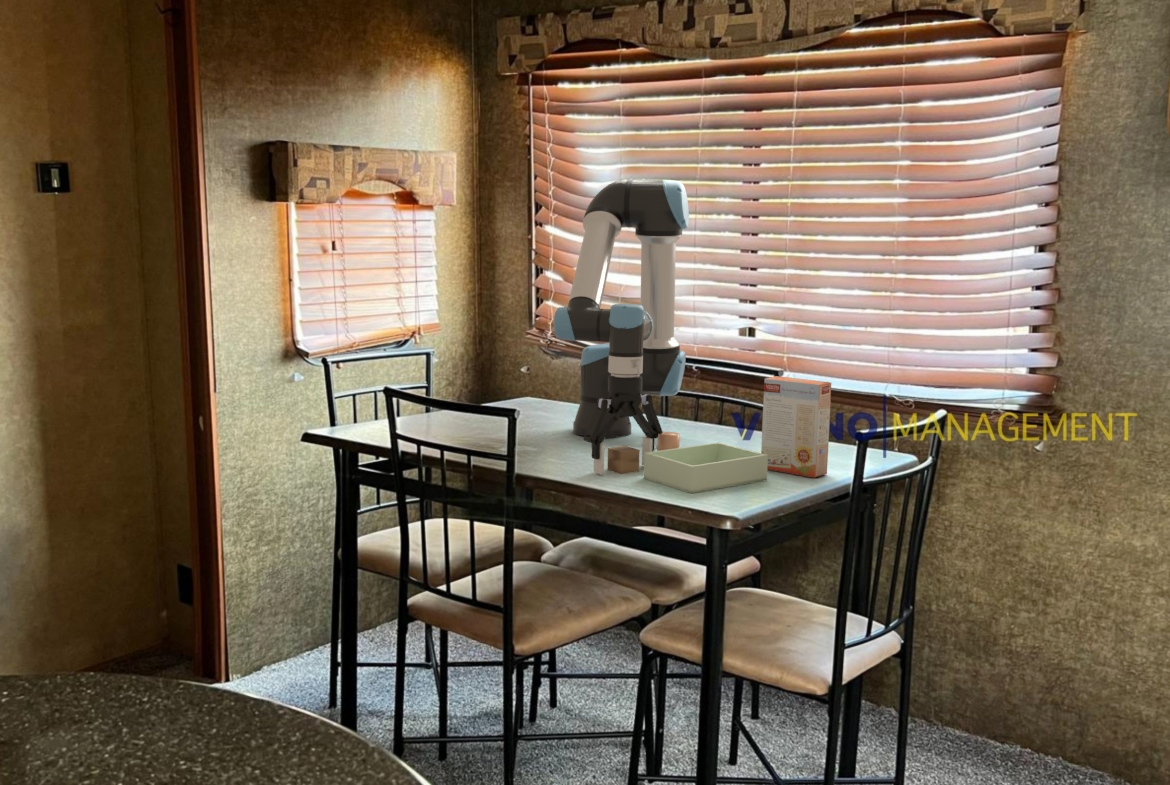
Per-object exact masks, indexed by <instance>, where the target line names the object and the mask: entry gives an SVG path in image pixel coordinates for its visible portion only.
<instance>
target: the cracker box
mask: <svg viewBox="0 0 1170 785" xmlns="http://www.w3.org/2000/svg"><path fill="white" fill-rule="evenodd" d="M763 380H764V383H763V405H762V407H763V408H762V425H761V426H762V427H761V448H760V449H761V450H760V453H762V454H766V455H768V465H767V471H775V472H780V473H785V474H790V475H795V474H796V475H795V476H801V477H807V478H811V477H812V479H815V478H817V477H821V476H825V475H827V474H828V463H829V462H828V461H829V460H828V458H829V457H828V456H829V440H830V438H829V437H830V419H831V402H832V401H831V399H832V382H829V381H823V380H822V381H821V380H814V379H808V378H807V379H805V378H798V377H796V378H795V377H787V376H776V375H775V376H770V377H765V378H764V379H763Z"/></svg>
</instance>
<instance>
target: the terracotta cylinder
mask: <svg viewBox="0 0 1170 785" xmlns="http://www.w3.org/2000/svg"><path fill="white" fill-rule="evenodd" d="M680 435H681V434H680V433H679V432H675V431H662V434H658V438H657V448H656V449H657V450H656V451H661V450H668V449H675V448H680V443H681V442H680V441H681V440H680V438H681V436H680Z"/></svg>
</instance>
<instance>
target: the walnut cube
mask: <svg viewBox="0 0 1170 785" xmlns="http://www.w3.org/2000/svg"><path fill="white" fill-rule="evenodd" d="M640 452H641V451H640V449H638V448H634V447H631V446H627V445H622V446H615V447H607V467H606V470H607V471H611V472H613V473H616V474H619V475H625V474H630V473H636V472H640Z"/></svg>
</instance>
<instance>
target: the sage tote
mask: <svg viewBox="0 0 1170 785" xmlns="http://www.w3.org/2000/svg"><path fill="white" fill-rule="evenodd" d="M767 465H768V455H766V454H762V453H761V452H758V451H753V450H750V449H747V448H742V447H739V446H734V445H730V444H727V443H723V442H713V443H705V444H697V445H691V446H690V445H689V446H684V447H682V446H681V447H679V448H675V449H668V450H661V451H657V450H654V451H653V452H647V453H644V466H643V479H645V480H648V481H650V482H654V483H658V484H660V485H664V486H667V487H670V488H673V489H676V490H680V491H682V492H686V493H689V494H695V493H702V492H703V493H704V492H710V491H713V490H720V489H724V487H726V488H730V487H729V486H732V487H736V485H737V486H741V485H748V484H753V483H754V482H755V483H759V482H760V483H761V482H764V480H765V482H766V481H768V470H767ZM755 483H754V484H755ZM719 488H720V489H719Z"/></svg>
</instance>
